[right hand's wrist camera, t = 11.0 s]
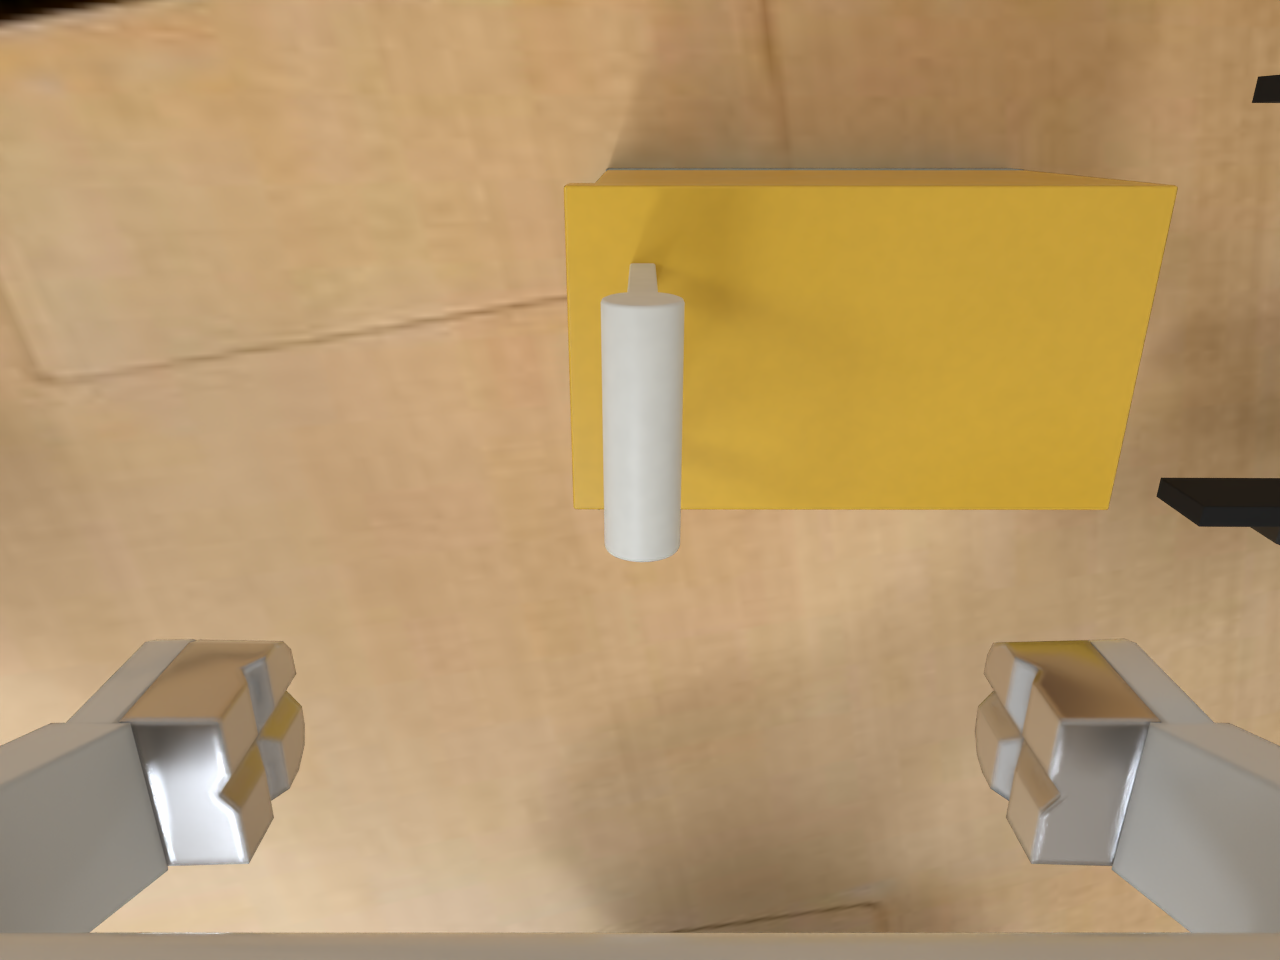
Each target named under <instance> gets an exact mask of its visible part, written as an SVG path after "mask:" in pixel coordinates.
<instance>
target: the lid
mask: <svg viewBox="0 0 1280 960" xmlns="http://www.w3.org/2000/svg"><path fill="white" fill-rule="evenodd" d="M1177 189H1178V188H1177V186H1175V185H1165V184H1155V183H569V184H567V185H566V186H565V187H564V210H565V243H566V276H567V308H568V341H569V374H570V406H571V439H572V472H573V505H574V509H604V536H605V547H606V549H607V551H608V552H609V553H610V554H612V555H613V556H615V557H617V558H620V559H623V560H627V561H633V562H651V561H658V560H662V559H665V558H668V557H670V556H672V555H673V554H675V553H676V552H677V550H678V549H679V546H680V518H681V509H875V510H1107V509H1108V508H1109V503H1110V499H1111V494H1112V489H1113V485H1114V480H1115V476H1116V471H1117V466H1118V462H1119V457H1120V452H1121V448H1122V443H1123V439H1124V434H1125V429H1126V425H1127V420H1128V415H1129V411H1130V406H1131V402H1132V397H1133V392H1134V388H1135V383H1136V379H1137V374H1138V369H1139V365H1140V360H1141V355H1142V351H1143V346H1144V342H1145V337H1146V332H1147V328H1148V323H1149V319H1150V314H1151V309H1152V305H1153V300H1154V295H1155V291H1156V286H1157V282H1158V277H1159V272H1160V268H1161V263H1162V258H1163V254H1164V249H1165V245H1166V240H1167V235H1168V231H1169V226H1170V222H1171V217H1172V212H1173V208H1174V203H1175V198H1176V194H1177Z"/></svg>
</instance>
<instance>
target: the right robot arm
mask: <svg viewBox="0 0 1280 960" xmlns="http://www.w3.org/2000/svg"><path fill="white" fill-rule="evenodd" d="M295 675H296V670H295V666H294V661H293V656H292V652H291V649H290V648H289V647H288V646H287V645H286V644H285V643H284V642H283V641H245V640H194V639H163V640H153V641H148V642H145V643H144V644H143V645H142V646H141V647H140V648H139V649H138V650H137V651H136V652H135V653H134V654H133V655H132V656H131V657H130V658H129V659H128V660H127V661H126V662H125V663H124V664H123V665H122V666H121V667H120V668H119V669H118V670H117V671H116V672H115V673H114V674H113V675H112V676H111V677H110V678H109V679H108V680H107V681H106V683H105V684H104V685H103V686H102V687H101V688H100V689H99V690H98V691H97V692H96V693H95V694H94V695H93V696H92V697H91V698H90V699H89V700H88V701H87V702H86V703H85V704H84V705H83V706H82V707H81V708H80V709H79V710H78V711H77V712H76V713H75V714H74V715H73V716H72V717H71V718H70V719H69V720H68V721H67V722H66V723H50V724H48V725H46V726H43V727H41V728H39V729H37V730H35V731H32V732H30V733H28V734H26V735H24V736H21V737H19V738H17V739H15V740H13V741H10V742H8V743H6V744H4V745H2V746H0V960H1280V746H1278V745H1276V744H1274V743H1272V742H1270V741H1267V740H1265V739H1263V738H1261V737H1259V736H1256V735H1254V734H1252V733H1250V732H1248V731H1245V730H1243V729H1241V728H1239V727H1237V726H1234V725H1232V724H1230V723H1214V722H1213V721H1212V720H1211V719H1210V718H1209V717H1208V716H1207V715H1206V714H1205V713H1204V712H1203V711H1202V710H1201V709H1200V708H1199V707H1198V706H1197V705H1196V704H1195V703H1194V702H1193V701H1192V700H1191V699H1190V698H1189V697H1188V696H1187V695H1186V694H1185V693H1184V691H1183V690H1182V689H1181V688H1180V687H1179V686H1178V685H1177V684H1176V683H1175V682H1174V681H1173V680H1172V679H1171V678H1170V677H1169V676H1168V675H1167V674H1166V673H1165V672H1164V671H1163V670H1162V669H1161V668H1160V667H1159V666H1158V665H1157V664H1156V663H1155V662H1154V661H1153V660H1152V659H1151V658H1150V657H1149V656H1148V655H1147V654H1146V653H1145V652H1144V651H1143V650H1142V649H1141V648H1140V647H1139V646H1138V645H1137V644H1136V643H1134V642H1132V641H1129V640H1127V639H1102V640H1080V641H1040V642H1002V643H993V644H992V646H991V649H990V651H989V653H988V655H987V659H986V665H985V670H984V675H985V677H986V678H987V680H988V681H989V683H990V685H991V686H992V688H993V689H994V691H993V692H992V693H991V694H990V695H989V696H988V697H987V698H986V699H985V700H984V701H983V702H982V703H981V704H980V705H979V706H978V712H977V719H976V727H975V737H976V749H977V756H978V760H979V763H980V766H981V770H982V773H983V775H984V777H985V779H986V781H987V782H988V784H989V786H990V788H991V789H992V790H994V791H995V792H997V793H998V794H1000V795H1001V796H1003V797H1004V798H1006V799H1007V800H1009V805H1008V810H1007V815H1006V818H1007V820H1008V822H1009V824H1010V826H1011V827H1012V829H1013V831H1014V833H1015V835H1016V837H1017V838H1018V840H1019V842H1020V844H1021V846H1022V848H1023V849H1024V851H1025V853H1026V855H1027V857H1028V859H1029V860H1030V862H1031V864H1062V865H1099V866H1112V870H1113V871H1114V872H1115V873H1117V874H1118V875H1119V876H1121V877H1122V878H1123V879H1124V880H1126V881H1127V882H1128V883H1129V884H1131V885H1132V886H1133V887H1134V888H1136V889H1137V890H1138V891H1139V892H1141V893H1142V894H1143V895H1144V896H1146V897H1147V898H1148V899H1149V900H1151V901H1152V902H1153V903H1154V904H1156V905H1157V906H1158V907H1159V908H1161V909H1162V910H1163V911H1165V912H1166V913H1167V914H1168V915H1170V916H1171V917H1172V918H1173V919H1175V920H1176V921H1177V922H1178V923H1180V924H1181V925H1182V926H1183V927H1185V928H1186V929H1187V930H1188V931H1190V932H1191V933H89V932H91V931H92V930H93V929H94V928H96V927H97V926H98V925H99V924H101V923H102V922H103V921H104V920H106V919H107V918H108V917H109V916H111V915H112V914H113V913H115V912H116V911H117V910H118V909H120V908H121V907H122V906H123V905H125V904H126V903H127V902H128V901H130V900H131V899H132V898H133V897H135V896H136V895H137V894H138V893H140V892H141V891H142V890H143V889H145V888H146V887H147V886H149V885H150V884H151V883H152V882H154V881H155V880H156V879H157V878H159V877H160V876H161V875H162V874H164V873H165V872H166V871H167V870H168V867H167V866H181V865H216V864H249V863H250V861H251V859H252V857H253V855H254V853H255V851H256V850H257V848H258V846H259V844H260V842H261V840H262V839H263V837H264V835H265V833H266V831H267V829H268V828H269V826H270V824H271V822H272V820H273V818H274V815H273V810H272V804H271V800H273V799H274V798H276V797H277V796H279V795H280V794H282V793H283V792H285V791H286V790H288V789H289V788H290V786H291V784H292V782H293V780H294V778H295V776H296V774H297V772H298V770H299V767H300V763H301V758H302V754H303V749H304V742H305V724H304V717H303V711H302V706H301V705H300V704H299V703H298V702H297V701H296V700H295V699H294V698H293V697H292V696H291V695H290V694H289V693H288V692H287V691H286V690H287V688H288V686H289V685H290V683H291V681H292V680H293V678H294V677H295Z"/></svg>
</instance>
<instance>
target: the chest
mask: <svg viewBox="0 0 1280 960" xmlns="http://www.w3.org/2000/svg"><path fill="white" fill-rule="evenodd" d="M596 183H1146V182H1136V181H1126V180H1116V179H1106V178H1096V177H1086V176H1076V175H1066V174H1056V173H1046V172H1036V171H1026V170H1021V169H796V168H608V169H607V170H606V172H605V173H604V174H603V175H602V176H601V177H600V178H599V179H598V181H597V182H596Z"/></svg>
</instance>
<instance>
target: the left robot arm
mask: <svg viewBox="0 0 1280 960" xmlns="http://www.w3.org/2000/svg"><path fill="white" fill-rule="evenodd" d="M1252 103H1280V75H1273V76H1261V77H1258V80H1257V84H1256V88H1255V92H1254V96H1253V100H1252ZM1157 497H1158V498H1160V499H1161V500H1162V501H1164V502H1165V503H1167V504H1168V505H1170V506H1171V507H1172V508H1174V509H1175V510H1177V511H1178V512H1179V513H1181V514H1182V515H1184V516H1185V517H1187V518H1188V519H1189V520H1191V521H1192V522H1194V523H1195V524H1197V525H1198V526H1207V527H1251V528H1253V529H1254V530H1256V531H1257V532H1259V533H1261V534H1262V535H1264V536H1265V537H1267V538H1268V539H1270V540H1271V541H1273V542H1274V543H1276V544H1279V545H1280V478H1161V480H1160V485H1159V489H1158V493H1157Z"/></svg>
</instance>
